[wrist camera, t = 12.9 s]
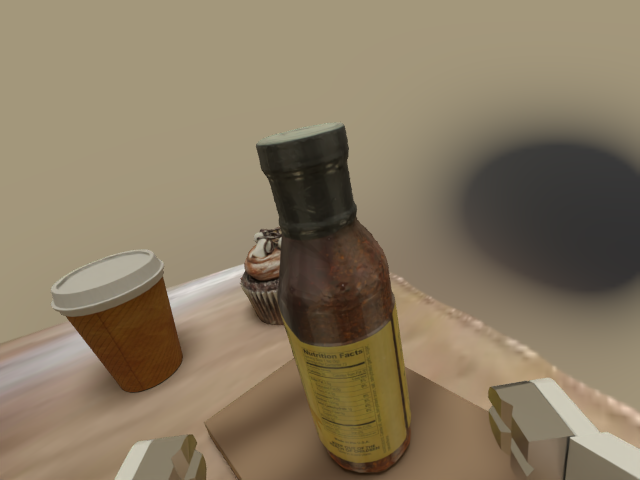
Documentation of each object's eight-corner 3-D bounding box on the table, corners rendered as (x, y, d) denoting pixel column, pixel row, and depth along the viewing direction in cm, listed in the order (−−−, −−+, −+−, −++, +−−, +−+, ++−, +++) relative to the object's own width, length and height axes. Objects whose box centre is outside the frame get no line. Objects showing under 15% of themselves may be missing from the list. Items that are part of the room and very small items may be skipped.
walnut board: (209, 436, 27) (204, 422, 26) (336, 340, 34) (334, 328, 34) (441, 785, 12) (438, 770, 11) (573, 476, 19) (575, 458, 19)
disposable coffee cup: (147, 338, 41) (107, 250, 37) (214, 339, 39) (179, 244, 34) (80, 402, 33) (17, 298, 29) (158, 410, 30) (102, 295, 26)
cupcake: (250, 297, 46) (229, 229, 43) (318, 279, 47) (304, 212, 44) (250, 339, 37) (224, 258, 34) (334, 315, 39) (318, 235, 35)
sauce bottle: (349, 385, 27) (296, 125, 19) (427, 415, 23) (398, 108, 16) (299, 457, 22) (204, 149, 15) (387, 509, 18) (319, 133, 11)
